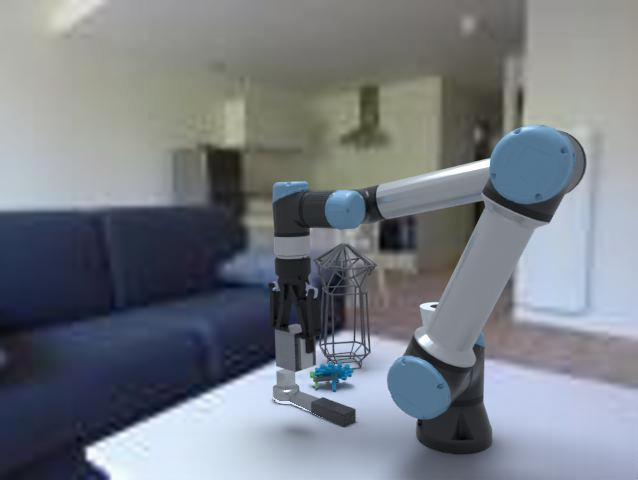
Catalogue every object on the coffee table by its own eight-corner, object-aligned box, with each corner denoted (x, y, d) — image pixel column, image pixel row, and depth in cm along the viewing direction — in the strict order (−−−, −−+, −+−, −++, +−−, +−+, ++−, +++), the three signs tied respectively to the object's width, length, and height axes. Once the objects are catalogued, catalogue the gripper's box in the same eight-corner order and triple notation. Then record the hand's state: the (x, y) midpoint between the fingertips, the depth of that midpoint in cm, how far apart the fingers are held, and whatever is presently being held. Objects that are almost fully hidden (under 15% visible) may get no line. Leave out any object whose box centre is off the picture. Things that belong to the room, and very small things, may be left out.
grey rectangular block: (316, 365, 121) (315, 328, 120) (295, 372, 117) (294, 334, 116) (296, 359, 125) (295, 323, 124) (276, 366, 121) (274, 329, 120)
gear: (355, 375, 149) (349, 357, 142) (356, 396, 146) (351, 379, 138) (314, 379, 151) (306, 362, 143) (314, 400, 147) (306, 384, 139)
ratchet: (359, 419, 126) (359, 388, 125) (339, 428, 121) (339, 397, 121) (287, 392, 142) (286, 365, 142) (267, 399, 138) (266, 371, 137)
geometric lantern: (313, 358, 168) (311, 241, 164) (364, 355, 171) (364, 239, 167) (323, 377, 153) (321, 247, 149) (379, 372, 156) (379, 245, 152)
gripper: (338, 257, 114) (341, 369, 117) (276, 251, 128) (279, 351, 130) (311, 261, 109) (315, 379, 111) (249, 254, 122) (253, 359, 125)
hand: (296, 364), depth 121 cm, fingers closed on grey rectangular block, 6 cm apart
